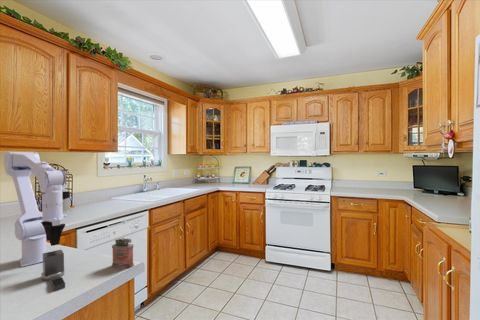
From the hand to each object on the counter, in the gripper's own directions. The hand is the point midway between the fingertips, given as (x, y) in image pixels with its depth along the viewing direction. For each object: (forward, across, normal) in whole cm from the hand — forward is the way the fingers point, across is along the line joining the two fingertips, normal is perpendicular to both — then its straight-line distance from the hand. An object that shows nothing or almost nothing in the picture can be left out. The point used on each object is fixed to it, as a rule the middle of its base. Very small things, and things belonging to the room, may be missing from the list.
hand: (53, 242), depth 85 cm
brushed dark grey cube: (+8, -7, +1) cm, 11 cm away
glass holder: (+10, +120, -20) cm, 122 cm away
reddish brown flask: (+10, -16, -18) cm, 26 cm away
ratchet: (+9, -11, +1) cm, 15 cm away
